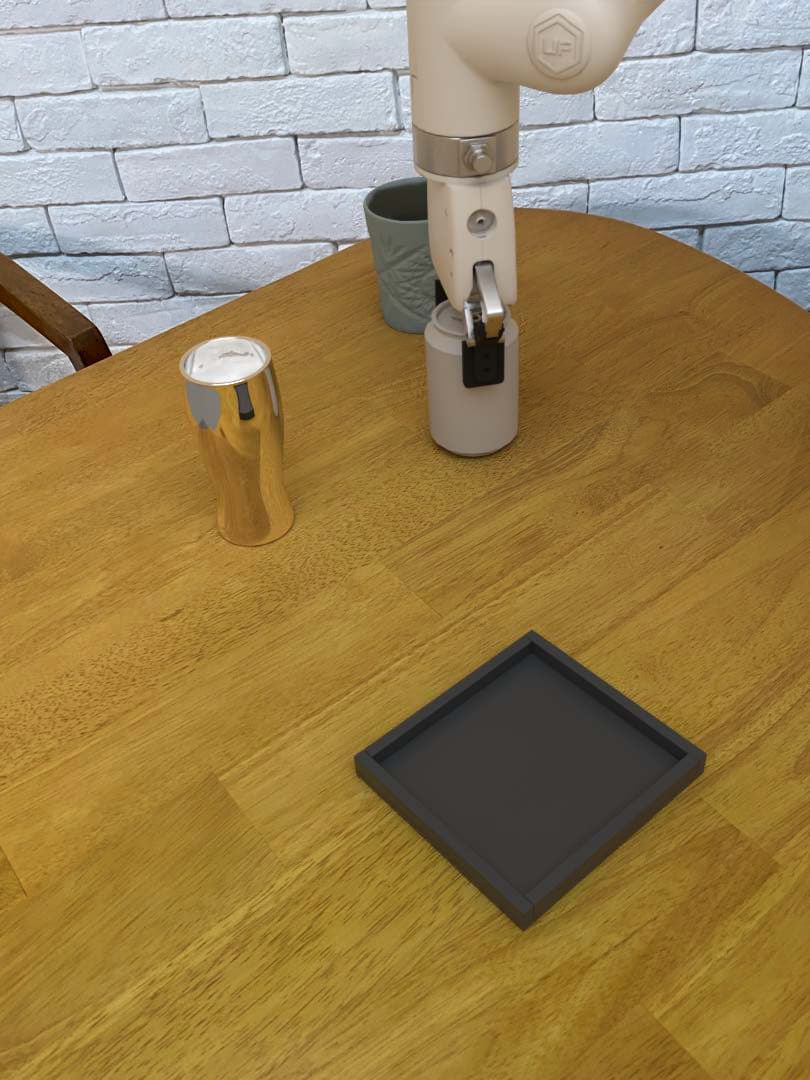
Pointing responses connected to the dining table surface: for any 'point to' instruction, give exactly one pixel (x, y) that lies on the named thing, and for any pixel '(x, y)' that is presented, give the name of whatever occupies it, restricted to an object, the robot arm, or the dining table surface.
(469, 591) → the dining table surface
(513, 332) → the can
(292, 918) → the dining table surface
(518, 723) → the tray
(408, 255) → the embossed green cup
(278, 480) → the beer glass
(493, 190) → the robot arm
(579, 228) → the dining table surface
